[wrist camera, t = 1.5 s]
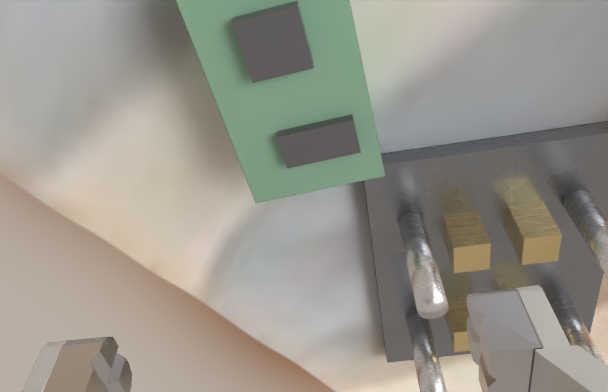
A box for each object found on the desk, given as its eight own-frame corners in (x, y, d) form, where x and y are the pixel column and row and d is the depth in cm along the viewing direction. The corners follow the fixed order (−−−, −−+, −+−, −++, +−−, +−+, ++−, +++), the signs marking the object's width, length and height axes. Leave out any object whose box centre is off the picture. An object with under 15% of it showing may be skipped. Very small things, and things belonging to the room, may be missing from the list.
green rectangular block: (188, -44, 23) (167, -9, 19) (331, -84, 22) (338, -56, 18) (260, 155, 28) (255, 211, 25) (375, 130, 28) (386, 183, 24)
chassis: (361, 156, 28) (376, 250, 23) (626, 118, 27) (711, 208, 21) (385, 350, 38) (400, 449, 32) (581, 328, 36) (632, 428, 31)
